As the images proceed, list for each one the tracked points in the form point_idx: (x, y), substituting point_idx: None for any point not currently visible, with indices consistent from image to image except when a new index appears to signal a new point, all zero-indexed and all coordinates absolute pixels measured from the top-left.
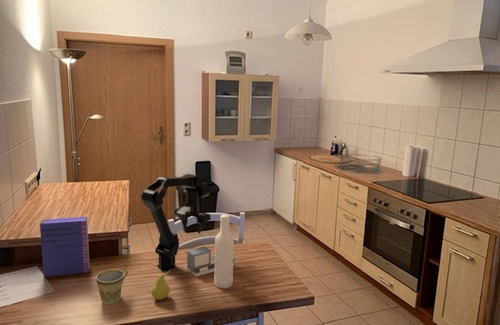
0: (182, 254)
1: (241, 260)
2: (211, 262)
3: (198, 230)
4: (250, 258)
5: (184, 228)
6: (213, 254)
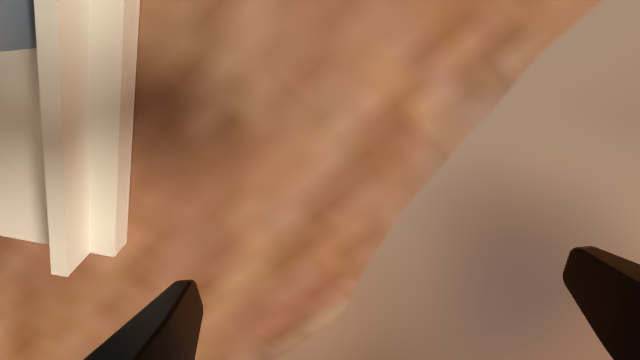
0: (400, 67)
1: (8, 286)
2: (19, 92)
3: (140, 332)
4: (7, 333)
5: (590, 252)
6: (60, 177)
